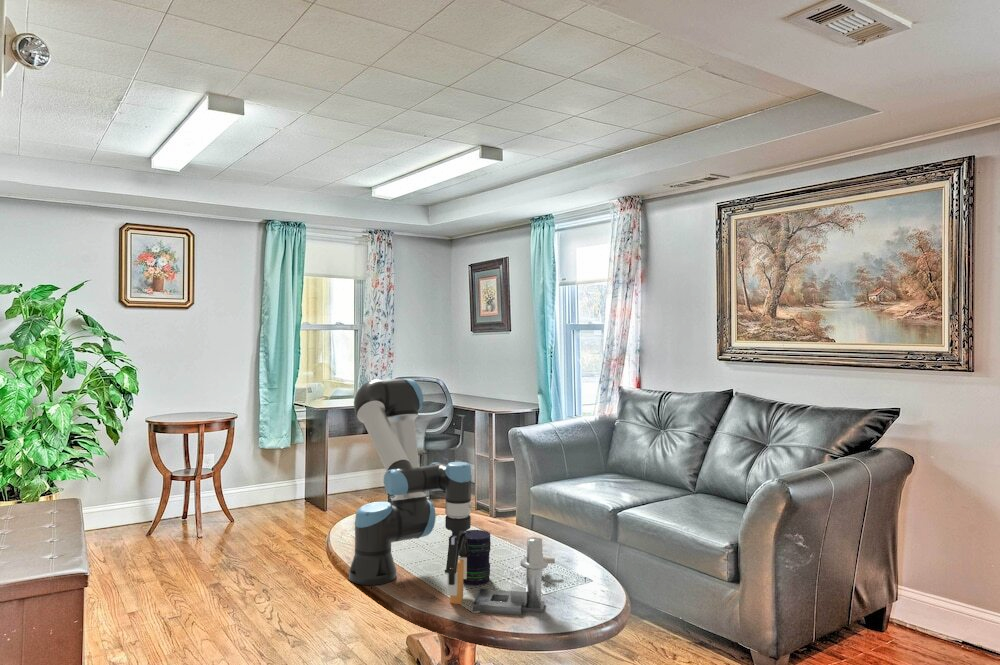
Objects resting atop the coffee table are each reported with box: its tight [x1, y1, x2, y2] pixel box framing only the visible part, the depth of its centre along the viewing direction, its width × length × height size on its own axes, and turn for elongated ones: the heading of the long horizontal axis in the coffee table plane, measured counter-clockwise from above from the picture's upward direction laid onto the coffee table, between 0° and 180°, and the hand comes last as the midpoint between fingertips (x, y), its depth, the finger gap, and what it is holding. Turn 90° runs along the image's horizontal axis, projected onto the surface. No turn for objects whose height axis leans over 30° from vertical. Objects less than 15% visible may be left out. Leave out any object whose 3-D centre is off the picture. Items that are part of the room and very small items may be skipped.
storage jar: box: [463, 529, 492, 587], centre depth 225 cm, size 10×10×15 cm
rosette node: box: [472, 536, 549, 616], centre depth 205 cm, size 21×12×20 cm, turn 81°
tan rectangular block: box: [449, 560, 464, 605], centre depth 208 cm, size 3×3×12 cm
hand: (457, 586), depth 208 cm, fingers open, 13 cm apart
